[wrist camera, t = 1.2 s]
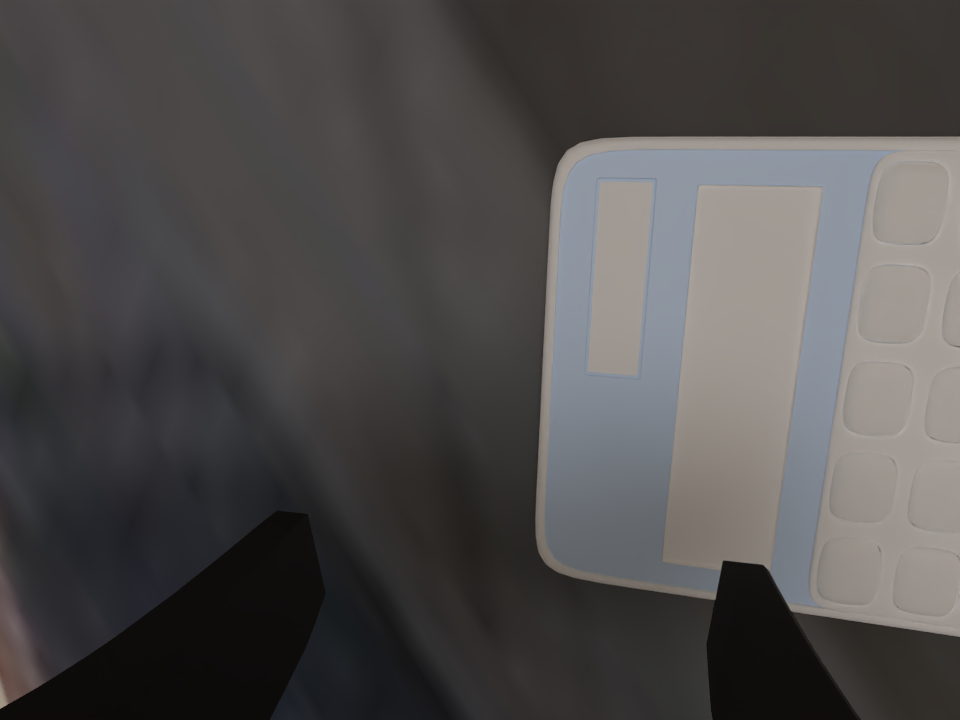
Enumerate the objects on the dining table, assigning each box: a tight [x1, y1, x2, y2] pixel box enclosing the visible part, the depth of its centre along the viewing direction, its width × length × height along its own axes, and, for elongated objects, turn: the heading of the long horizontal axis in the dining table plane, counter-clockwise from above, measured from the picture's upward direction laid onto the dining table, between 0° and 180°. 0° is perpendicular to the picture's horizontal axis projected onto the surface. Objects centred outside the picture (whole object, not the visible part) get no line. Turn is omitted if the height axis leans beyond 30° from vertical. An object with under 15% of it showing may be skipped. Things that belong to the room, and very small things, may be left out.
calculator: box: [535, 137, 960, 637], centre depth 17 cm, size 13×20×2 cm, turn 88°
